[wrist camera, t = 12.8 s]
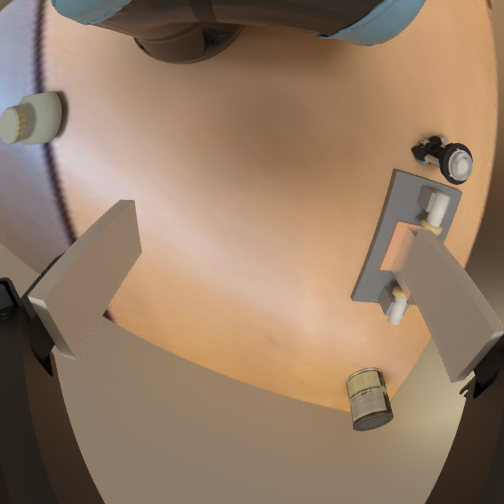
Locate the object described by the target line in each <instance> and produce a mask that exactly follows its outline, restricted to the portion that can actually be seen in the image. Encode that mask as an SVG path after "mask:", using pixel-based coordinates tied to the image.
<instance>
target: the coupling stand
mask: <svg viewBox="0 0 504 504" xmlns="http://www.w3.org/2000/svg"><path fill="white" fill-rule="evenodd" d="M461 195H462V192H461V191H460V190H458V189H455V188H452V187H450V186H447V185H444V184H441V183H438V182H435V181H433V180H430V179H426V178H423V177H420V176H417V175H414V174H411V173H407V172H404V171H400V170H397V169H394V170H393V174H392V178H391V181H390V185H389V189H388V192H387V196H386V199H385V202H384V206H383V209H382V212H381V216H380V219H379V222H378V225H377V228H376V231H375V234H374V237H373V240H372V243H371V245H370V248H369V251H368V254H367V257H366V259H365V262H364V265H363V267H362V270H361V272H360V275H359V277H358V280H357V283H356V285H355V287H354V290H353V292H352V295H351V299H352V301H361V302H374V303H380V305H381V307H382V310H383V312H384V314H385V315H389V318H388V322H389V323H391V324H393V325H399V324H400V322H401V319H402V316H403V315H404V313H405V311H406V310H407V308H408V306H409V305H413V304H409V302H408V300H407V298H406V296H405V294H404V292H403V290H402V289H401V287H400V285H399V283H398V281H397V279H396V278H395V276H394V274H393V272H392V271H391V269H390V268H391V266H392V264H393V261H394V259H395V256H396V254H397V251H398V249H399V246H400V243H401V241H402V238H403V235H404V233H405V230H406V227H411V228H416V229H419V228H421V229H426V230H431V231H432V232H433V233H434V234H435V235H436V237H437V238H438V239H439V240H440V241H441V242H442V243H444V241H445V238H446V236H447V234H448V231H449V229H450V226H451V223H452V221H453V218H454V215H455V213H456V210H457V207H458V204H459V201H460V198H461Z"/></svg>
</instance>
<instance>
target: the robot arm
mask: <svg viewBox="0 0 504 504" xmlns="http://www.w3.org/2000/svg"><path fill="white" fill-rule="evenodd" d="M424 2H425V0H51V3H52V5H53V6H54V7H55V9H56V10H57V12H58V13H59V14H61V15H62V16H65V17H67V18H70V19H72V20H75V21H77V22H78V23H81V24H83V25H84V24H85V25H94V26H98V27H102V28H106V29H110V30H113V31H117V32H120V33H123V34H127V35H130V36H133V38H134V40H135V42H136V43H137V45H138V46H139V47H140V49H141V50H143V51H144V52H145V53H146V54H148V55H149V56H151V57H153V58H155V59H158V60H161V61H164V62H168V63H174V64H187V63H194V62H198V61H202V60H205V59H207V58H210V57H212V56H214V55H216V54H218V53H219V52H221V51H222V50H224V49H225V48H226V47H228V46H229V45H230V44H231V43H232V42H233V41H234V40H235V39H236V37H237V36H238V35H239V33H240V31H241V30H242V28H243V26H244V24H245V25H256V26H265V27H273V28H280V29H286V30H292V31H298V32H303V33H308V34H313V35H315V36H316V37H318V38H321V39H336V40H341V41H345V42H349V43H352V44H356V45H361V46H371V45H375V44H382V43H385V42H387V41H389V40H391V39H392V38H394V37H395V36H397V35H398V34H399V33H401V32H402V31H403V30H404V29H405V28H406V27H407V26H408V25H409V24H410V23H411V22H412V20H413V19H414V18H415V17H416V16H417V14H418V13H419V11H420V9H421V8H422V6H423V4H424ZM141 253H142V249H141V243H140V237H139V231H138V224H137V217H136V209H135V201H134V200H119V201H118V202H117V203H116V204H115V205H114V206H113V207H111V208H110V209H109V210H108V211H107V212H106V213H105V214H104V215H103V216H102V217H100V218H99V219H98V220H97V221H96V222H95V223H94V224H93V225H92V226H91V227H90V228H89V229H88V230H87V231H86V232H85V233H84V234H83V235H82V236H81V237H80V238H79V239H78V240H77V241H76V242H75V243H74V244H73V245H72V246H71V247H70V248H69V249H68V250H67V251H66V252H64V253H63V254H61V255H60V256H58V257H57V258H55V259H54V260H53V261H52V262H51V263H50V265H49V266H48V267H47V269H45V270H44V271H43V272H42V273H41V276H39V277H38V278H37V279H36V280H35V282H34V283H33V284H32V285H31V286H30V288H29V289H28V290H27V291H26V292H25V294H24V295H23V296H22V297H21V299H20V297H19V295H18V293H17V291H16V289H15V287H14V285H13V283H12V281H11V280H10V279H9V278H0V504H105V503H104V501H103V499H102V497H101V495H100V494H99V492H98V490H97V488H96V486H95V484H94V482H93V479H92V477H91V475H90V473H89V471H88V468H87V466H86V464H85V461H84V459H83V456H82V454H81V452H80V449H79V446H78V444H77V441H76V438H75V435H74V432H73V429H72V426H71V423H70V420H69V417H68V413H67V410H66V406H65V403H64V399H63V395H62V391H61V387H60V382H59V378H58V373H57V368H56V363H55V358H54V355H53V353H52V351H51V350H52V348H53V347H54V345H56V347H57V348H58V350H59V351H60V353H61V354H62V355H63V356H66V357H69V358H72V359H74V360H77V361H78V359H79V357H80V355H81V353H82V352H83V350H84V348H85V346H86V344H87V342H88V340H89V338H90V336H91V335H92V333H93V331H94V329H95V327H96V326H97V324H98V322H99V320H100V319H101V317H102V315H103V313H104V312H105V310H106V308H107V307H108V305H109V303H110V302H111V300H112V298H113V297H114V295H115V293H116V292H117V290H118V288H119V287H120V285H121V284H122V282H123V280H124V279H125V277H126V276H127V274H128V273H129V271H130V270H131V268H132V266H133V265H134V263H135V262H136V260H137V259H138V257H139V256H140V254H141ZM401 276H402V278H403V280H404V282H405V284H406V285H407V287H408V289H409V291H410V293H411V295H412V297H413V298H414V300H415V302H416V304H417V306H418V308H419V310H420V312H421V314H422V316H423V318H424V320H425V322H426V325H427V327H428V329H429V331H430V333H431V335H432V337H433V340H434V342H435V344H436V346H437V349H438V351H439V353H440V356H441V358H442V361H443V363H444V366H445V368H446V371H447V373H448V376H449V378H450V381H451V383H453V382H458V381H461V380H464V379H465V378H466V377H467V376H468V375H469V374H470V373H471V372H472V371H474V373H475V376H474V377H473V378H472V380H471V381H469V383H468V384H467V385H465V386H464V387H463V388H462V389H461V391H460V393H459V394H462V393H463V392H464V391H465V390H468V392H467V393H466V394H465V395H464V397H466V402H465V406H464V410H463V413H462V417H461V420H460V423H459V426H458V430H457V433H456V436H455V438H454V441H453V444H452V446H451V449H450V452H449V454H448V457H447V459H446V462H445V464H444V466H443V469H442V471H441V473H440V476H439V477H438V480H437V482H436V484H435V486H434V488H433V490H432V492H431V493H430V495H429V497H428V499H427V501H426V503H425V504H504V327H503V326H502V324H501V323H500V321H499V319H498V317H497V316H496V314H495V313H494V312H493V310H492V308H491V307H490V305H489V304H488V302H487V301H486V299H485V298H484V296H483V295H482V293H481V292H480V291H479V289H478V288H477V286H476V285H475V284H474V282H473V281H472V280H471V278H470V277H469V275H468V274H467V273H466V272H465V270H464V269H463V268H462V266H461V265H460V264H459V263H458V261H457V260H456V259H455V258H454V256H453V255H452V254H451V253H450V252H449V250H448V249H447V248H446V247H445V246H444V245H443V243H442V242H441V241H440V240H439V239H438V238H437V237H436V235H435V234H434V233H433V232H432V231H431V230H426V229H421V228H419V230H418V233H417V236H416V238H415V241H414V244H413V246H412V249H411V252H410V254H409V257H408V259H407V261H406V264H405V266H404V269H403V271H402V273H401Z"/></svg>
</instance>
